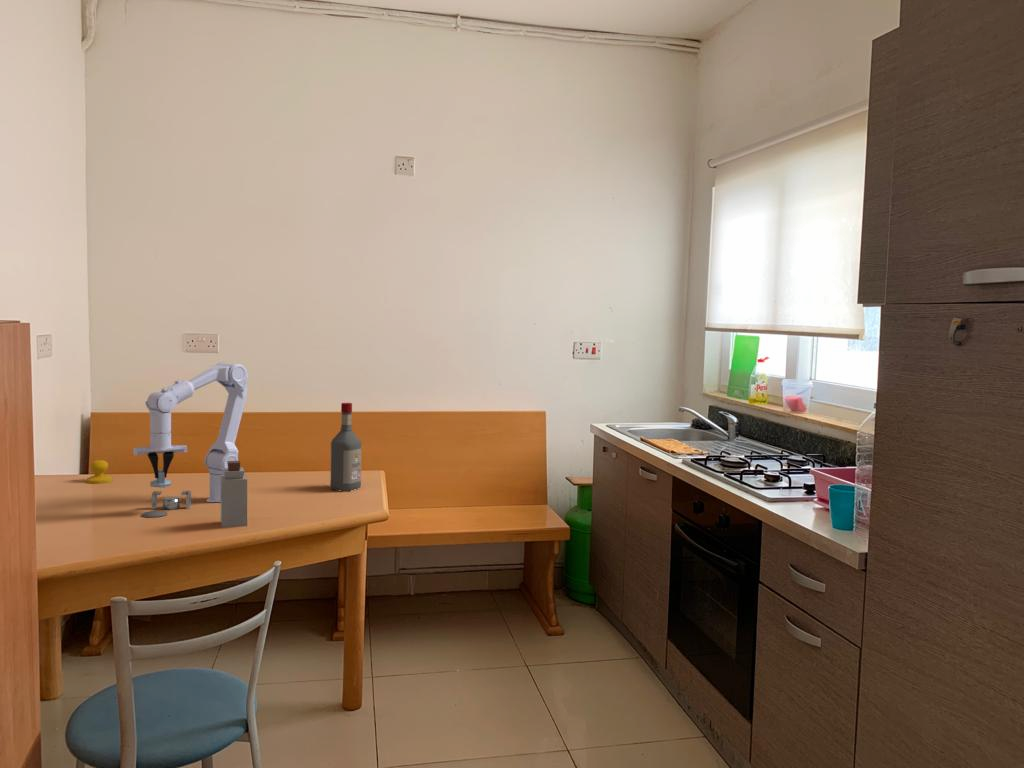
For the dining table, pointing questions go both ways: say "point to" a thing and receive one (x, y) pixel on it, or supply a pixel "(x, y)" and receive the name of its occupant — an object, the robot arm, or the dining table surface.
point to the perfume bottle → (233, 496)
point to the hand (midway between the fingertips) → (160, 477)
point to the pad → (154, 514)
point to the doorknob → (99, 472)
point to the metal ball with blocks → (171, 501)
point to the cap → (160, 480)
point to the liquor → (345, 455)
